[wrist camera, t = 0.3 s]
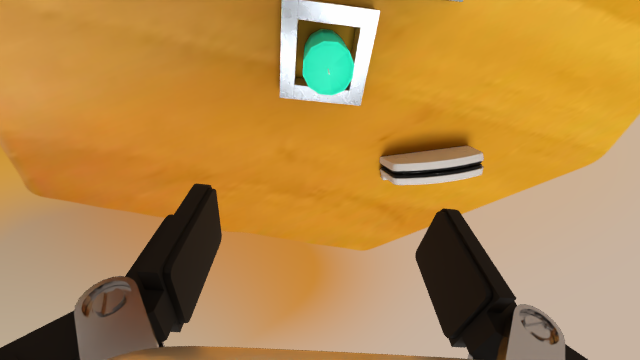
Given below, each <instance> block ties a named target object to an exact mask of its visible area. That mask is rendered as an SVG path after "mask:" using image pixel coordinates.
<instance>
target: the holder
mask: <svg viewBox="0 0 640 360" xmlns="http://www.w3.org/2000/svg"><path fill="white" fill-rule="evenodd" d="M379 15H380V10H376V9H372V8H365V7H358V6H350V5H343V4H336V3H328V2H321V1H314V0H282V10H281V59H280V98H289V99H299V100H309V101H319V102H329V103H339V104H349V105H359V106H360V105H361V100H362V95H363V91H364V86H365V81H366V76H367V72H368V67H369V62H370V57H371V53H372V48H373V43H374V38H375V34H376V29H377V24H378V19H379ZM299 20H307V21H315V22H323V23H330V24H338V25H346V26H354V27H356V29H355V35H354V41H353V47H352V53H351V57H352V59H353V62H354V65H355V66H354V72H353V78H352V80H351V82H350V83H349V85H348V86H347V88H346V89H345V90H344V91H342V92H340V93H337V94H335V95H333V96H331V95H322V94H318V93H317V92H315V91H314V90H312V89H311V88H309V87H308V85H307V83H306V81H305V79H304V78H297V77H296V59H297V40H298V22H299Z"/></svg>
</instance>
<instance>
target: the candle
mask: <svg viewBox="0 0 640 360" xmlns="http://www.w3.org/2000/svg"><path fill="white" fill-rule="evenodd" d="M354 66H355V65H354V62H353V59H352V57H351V54H350V51H349V50H348V48H347V46H346V45H345V43H344V42H343V40H342V38H341V37H340V36H339V35H338V34H336V33H335V32H334V31H333V30H328V29H320V30H318V31H316V32H314V33H312V34H311V35H310V36H309V38H308V40H307V42H306V43H305V48H304V58H303V77H304V79H305V81H306V83H307V85H308V87H309V88H311V89H312V90H314V91H315V92H317V93H318V94H322V95H331V96H333V95H335V94H337V93H340V92H342V91H344V90H345V89H346V88H347V86H348V85H349V83H350V82H351V80H352V78H353V72H354Z"/></svg>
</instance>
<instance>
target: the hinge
mask: <svg viewBox="0 0 640 360" xmlns="http://www.w3.org/2000/svg"><path fill="white" fill-rule="evenodd" d="M483 160H484V157H483V153H482V152H481V151H479V150H476V149H474V148H472V147H470V146H460V147H452V148H444V149H437V150H429V151H421V152H413V153H406V154H398V155H390V156H382V157H380V162H379V163H381V165H382V166H384V167H382V169H380V171H381V175H382V176H381V178H382V180H389V181H390V182H392V183H393V184H395V185H419V184H433V183H442V182H450V181H456V180H462V179H467V178H471V177H475V176H479V175H481V174H482V171H483V166H482V164H480V163H481V162H482V161H483Z"/></svg>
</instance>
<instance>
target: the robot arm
mask: <svg viewBox="0 0 640 360" xmlns="http://www.w3.org/2000/svg"><path fill="white" fill-rule="evenodd" d="M221 236H222V235H221V226H220V218H219V210H218V202H217V194H216V190H215V189H212V187H211V185H205V184H194V185H193V187H192V188H191V190H190V191H189V193H188V194H187V196H186V197H185V199H184V200H183V202H182V203H181V205H180V206H179V208H178V209H177V211H176V212H175V214H174V215H168V216H167V217H166V218H165V219H164V221H163V222H162V223H161V225H160V227H159V228H158V229H157V231H156V232H155V234H154V235H153V237H152V238H151V239H150V241H149V242H148V244H147V245H146V247H145V248H144V250H143V251H142V253H141V254H140V256H139V257H138V258H137V260H136V261H135V263H134V264H133V266H132V267H131V269H130V270H129V272H128V273H127V274H126V276H125V277H124V276H118V277H111V278H108V279H105V280H102V281H100V282H98V283H97V284H95V285H93V286H92V287H90V288H89V289H88V290H87V291H86V292H84V294H83V295H82V296H81V297H80V298H79V300H78V302H77V303H76V305H75V310H74V311H73V312H70V313H68V314H67V315H65V316H63V317H61V318H59V319H57V320H55V321H53V322H51V323H49V324H47V325H45V326H43V327H41V328H39V329H37V330H35V331H33V332H31V333H29V334H27V335H25V336H23V337H21V338H19V339H17V340H15V341H13V342H11V343H9V344H7V345H5V346H3V347H1V348H0V360H588V359H586V358H585V357H583V356H582V355H580V354H579V353H577V352H576V351H574V350H573V349H571V348H570V347H569V346H567V345H566V344H565V340H564V335H563V333H562V332H561V330H560V328H559V327H558V326H557V324H556V323H555V322H554V321H553V320H552V319H551V318H550V317H549V316H548V315H546V314H545V313H544V312H542V311H541V310H539V309H537V308H535V307H533V306H530V305H526V304H520V305H518V306H517V305H516V303H515V302H514V300H516V297H515V296H514V294H513V293H512V291H511V290H510V288H509V287H508V285H507V284H506V282H505V281H504V279H503V277H502V276H501V274H500V273H499V271H498V270H497V268H496V267H495V265H494V264H493V262H492V261H491V259H490V258H489V256H488V255H487V253H486V252H485V250H484V249H483V247H482V246H481V244H480V242H479V241H478V239H477V238H476V236H475V235H474V233H473V232H472V230H471V229H470V227H469V226H468V224H467V223H466V221H465V220H464V218H463V217H462V215H461V213H460V212H459V211H458V210H454V209H442V210H441V211H439V212H437V213H436V215H435V217H434V219H433V221H432V223H431V224H430V226H429V228H428V230H427V232H426V234H425V236H424V238H423V239H422V241H421V243H420V245H419V247H418V249H417V251H416V261H417V263H418V266H419V269H420V271H421V274H422V277H423V280H424V282H425V285H426V288H427V290H428V293H429V296H430V298H431V301H432V304H433V306H434V309H435V312H436V314H437V317H438V320H439V322H440V325H441V328H442V330H443V333H444V335H445V336H446V337H447V338H449V340H450V343H451V346H452V347H467V349H468V352H469V355H468V359H460V358H442V357H424V356H406V355H405V356H404V355H388V354H367V353H348V352H327V351H307V350H284V349H263V348H262V349H261V348H240V347H204V346H202V347H201V346H177V347H165V346H164V343H163V342H164V341H165V340H167V338H168V336H169V333H170V332H180V331H181V328H182V326H183V324H184V323H188V322H189V320H190V318H191V316H192V314H193V311H194V309H195V306H196V303H197V301H198V298H199V296H200V293H201V291H202V288H203V286H204V283H205V281H206V278H207V276H208V273H209V271H210V267H211V265H212V263H213V260H214V258H215V255H216V253H217V250H218V248H219V245H220V242H221Z"/></svg>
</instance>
